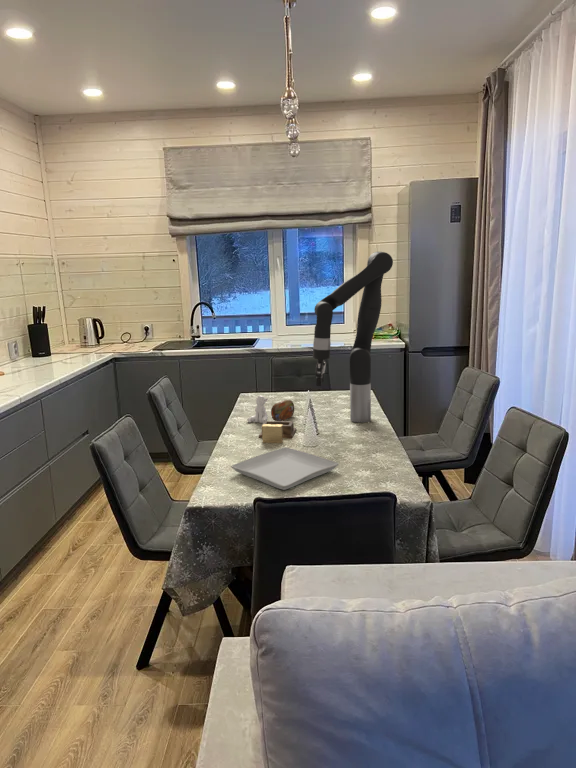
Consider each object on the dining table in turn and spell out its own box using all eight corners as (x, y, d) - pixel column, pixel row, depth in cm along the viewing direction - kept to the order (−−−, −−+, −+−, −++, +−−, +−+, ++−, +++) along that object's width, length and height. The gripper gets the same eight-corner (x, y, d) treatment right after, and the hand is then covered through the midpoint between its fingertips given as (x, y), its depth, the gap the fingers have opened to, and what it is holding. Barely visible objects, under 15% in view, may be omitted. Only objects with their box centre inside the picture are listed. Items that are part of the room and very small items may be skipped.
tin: (275, 423, 255) (274, 405, 253) (270, 422, 257) (269, 404, 255) (295, 415, 267) (294, 398, 265) (289, 414, 269) (289, 397, 267)
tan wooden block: (283, 440, 230) (282, 424, 228) (282, 443, 227) (281, 426, 225) (264, 440, 231) (263, 424, 229) (262, 442, 228) (262, 426, 227)
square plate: (229, 475, 194) (229, 464, 194) (286, 455, 213) (285, 445, 212) (284, 496, 175) (283, 484, 175) (340, 472, 194) (340, 461, 193)
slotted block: (296, 429, 244) (296, 419, 243) (291, 438, 232) (291, 427, 231) (264, 429, 246) (264, 419, 245) (259, 437, 235) (258, 427, 234)
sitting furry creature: (246, 422, 258) (245, 397, 255) (255, 417, 265) (254, 393, 263) (265, 424, 254) (263, 398, 251) (273, 419, 262) (272, 394, 259)
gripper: (328, 350, 238) (326, 388, 241) (331, 345, 251) (330, 381, 255) (311, 349, 239) (309, 386, 243) (315, 344, 253) (313, 380, 256)
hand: (320, 383), depth 249 cm, fingers open, 8 cm apart
